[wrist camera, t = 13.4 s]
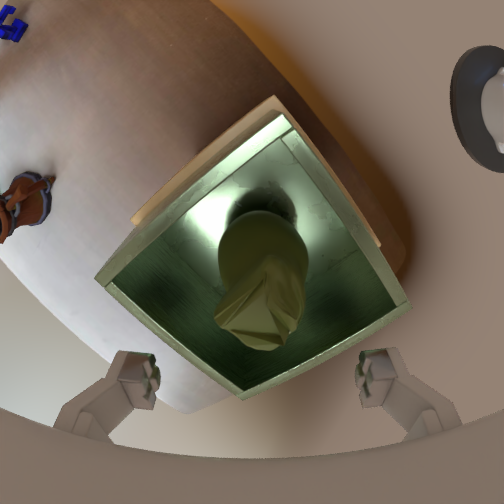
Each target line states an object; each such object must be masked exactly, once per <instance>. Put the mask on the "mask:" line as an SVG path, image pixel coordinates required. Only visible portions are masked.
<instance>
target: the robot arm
mask: <svg viewBox="0 0 504 504" xmlns="http://www.w3.org/2000/svg"><path fill="white" fill-rule="evenodd" d="M481 110H482V116H483V120H484V123H485V126H486V128H487V130H488V131H489V133H490V134H491V136H492V137H493V139H494V140H495V144H496V147H497V150H498V152H500V153H504V67H501V68H500V69H499V71H498V73H497V74H496V75H495V76H494V77H492V78H490V79H489V80H488V81H487V83H486V84H485V86H484V88H483V92H482V97H481ZM359 360H360V363H359V364H358V365H356V370H355V382H356V386H357V388H359V389H360V390H361V391H360V394H359V397H360V401H361V405H362V408H369V407H377V406H382V407H383V409H384V410H385V411H386V412H387V413H388V414H390V415H391V416H392V417H393V418H394V419H395V420H396V421H397V422H398V423H399V424H400V425H401V426H402V427H403V428H404V429H405V430H406V431H407V432H408V434H407V435H406V436H405V438H404V439H403V441H402V442H400V443H396V444H391V445H386V446H381V447H376V448H371V449H364V450H359V451H352V452H345V453H337V454H329V455H319V456H307V457H293V458H267V459H266V458H265V459H240V458H214V457H199V456H188V455H179V454H170V453H163V452H155V451H148V450H143V449H137V448H131V447H125V446H121V445H116V444H114V443H113V442H112V440H111V439H110V438H109V436H108V434H109V433H110V432H111V431H112V430H113V429H114V428H115V427H116V426H117V425H119V424H120V423H121V421H123V420H124V419H125V418H126V417H127V416H128V415H129V414H130V413H131V412H132V410H134V408H138V409H146V410H153V408H154V404H155V401H156V395H155V392H156V391H157V390H158V389H159V386H160V380H161V376H160V370H159V367H157V366H156V365H155V362H156V359H155V356H154V354H149V353H140V352H131V351H130V352H129V351H121V350H119V351H118V352H117V353H116V355H115V357H114V359H113V362H112V364H111V366H110V368H109V370H108V373H107V375H106V377H105V379H104V378H101V379H100V380H99V381H97V382H96V383H94V384H93V385H92V386H90V387H89V388H87V389H86V390H84V391H83V392H82V393H80V394H79V395H77V396H76V397H74V398H73V399H72V400H70V401H69V402H67V403H66V404H65V405H63V407H62V408H61V411H60V413H59V415H58V417H57V419H56V421H55V424H54V426H53V427H50V426H46V425H44V424H41V423H38V422H35V421H32V420H29V419H27V418H24V417H22V416H19V415H17V414H14V413H12V412H9V411H7V410H5V409H3V408H0V504H504V409H502V410H500V411H498V412H495V413H493V414H490V415H488V416H485V417H483V418H480V419H477V420H475V421H472V422H469V423H467V424H464V425H463V424H462V422H461V420H460V418H459V415H458V413H457V411H456V409H455V407H454V404H453V402H451V401H450V400H448V399H447V398H446V397H444V396H443V395H441V394H440V393H438V392H437V391H435V390H434V389H433V388H431V387H430V386H428V385H427V384H425V383H424V382H422V381H421V380H419V379H418V378H417V377H415V376H414V375H410V374H409V372H408V370H407V368H406V365H405V363H404V361H403V359H402V357H401V355H400V352H399V350H398V348H396V347H392V348H385V349H375V350H367V351H361V353H360V355H359Z"/></svg>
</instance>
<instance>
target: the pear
mask: <svg viewBox="0 0 504 504" xmlns="http://www.w3.org/2000/svg"><path fill="white" fill-rule="evenodd" d="M217 256H218V266H219V272H220V276H221V279H222V282H223V285H224V288H225V290H226V294H225V295H224V296H223V298H222V299H221V300H220V302H219V303H218V305H217V306H216V308H215V310H214V315H213V316H214V319H215V321H216V323H217V324H218V325H219V326H220V327H221V328H222V329H226V330H228V331H229V332H231V333H232V334H233V335H235V336H236V337H237V338H239V339H240V340H241V341H242V342H243V343H244V344H245V345H246V346H248V347H251V348H254V349H256V350H266V351H271V350H273V349H275V348H277V347H278V346H280V345H282V346H284V345H285V342H286V339H287V336H289V335H290V334H291V333H292V332H293V331H294V330H296V329H297V326H298V324H299V323H300V321H301V319H302V316H303V313H304V309H305V304H306V293H305V287H304V284H305V281H306V277H307V273H308V266H309V257H308V251H307V248H306V245H305V243H304V241H303V239H302V237H301V235H300V234H299V232H298V231H297V230H296V229H295V228H294V227H293V226H292V225H291V224H290V223H289V222H288V221H287V220H285V219H284V218H283V217H281V216H279V215H277V214H275V213H272V212H268V211H252V212H248V213H245V214H243V215H241V216H240V217H238V218H237V219H235V220H234V221H233V222H232V223H231V224H230V225H229V226H228V227H227V228H226V230H225V231H224V233H223V235H222V237H221V239H220V242H219V246H218V254H217Z"/></svg>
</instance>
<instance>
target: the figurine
mask: <svg viewBox="0 0 504 504" xmlns="http://www.w3.org/2000/svg"><path fill="white" fill-rule="evenodd" d="M15 10H16V8H15V7H13V6H8V5H4V7H3V8H2V10H1V12H0V38H1V39H8V40H12V41H14V42H19V40H20V38H21V37H22V35H23V33H24V32H25V30H26V28H27V27H28V25H27V24H26V23H24V22H23V21H22V20H20V19H16V18H15V20H14V22H13V23H12V25H11V26H10V25H2V23H3V22H4V20H5V18H6V17H7V15H8V14H13V13H14V11H15Z"/></svg>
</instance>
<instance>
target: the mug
mask: <svg viewBox="0 0 504 504" xmlns="http://www.w3.org/2000/svg"><path fill="white" fill-rule="evenodd" d="M54 181H55V179H54V177H51V178H49V179H47V178H41V177H40V176H39V174H36V173H30V172H25V173H23V174H20V175H18V176H16V177H15V178H14V179H13V181H12V183H11V185H10V187H9V189H8V190H7V191H6V192H5V193H3V194H2V195H0V244H1V243H2V244H3V243H4V241H5V239H6V237H8V236H11V235H12V233H13V231H14V230H15V229H16V228H18V227H19V226H23V225H29V226H34V225H39V224H42V222H43V221H44V219H45V218H46V217H47V215H48V214H49V212H50V206H51V195H50V192H49V191H50V185H51V184H52V183H53V182H54Z"/></svg>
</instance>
